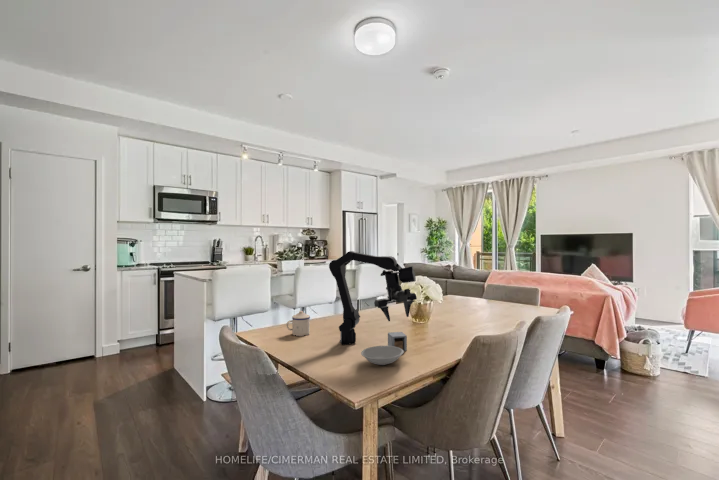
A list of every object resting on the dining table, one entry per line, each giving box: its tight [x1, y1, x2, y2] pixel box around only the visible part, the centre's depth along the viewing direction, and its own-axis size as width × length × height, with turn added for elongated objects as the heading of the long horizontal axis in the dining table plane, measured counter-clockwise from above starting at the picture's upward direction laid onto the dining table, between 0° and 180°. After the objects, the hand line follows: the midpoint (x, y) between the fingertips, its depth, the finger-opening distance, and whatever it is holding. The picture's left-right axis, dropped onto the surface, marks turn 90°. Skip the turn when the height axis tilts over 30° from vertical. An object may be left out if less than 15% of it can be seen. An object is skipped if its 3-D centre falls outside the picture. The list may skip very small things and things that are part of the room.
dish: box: [360, 345, 405, 366], centre depth 134 cm, size 18×14×5 cm
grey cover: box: [387, 331, 408, 352], centre depth 153 cm, size 7×7×6 cm
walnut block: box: [394, 339, 403, 349], centre depth 153 cm, size 4×4×4 cm
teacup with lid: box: [285, 310, 311, 337], centre depth 176 cm, size 12×9×12 cm
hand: (398, 319), depth 155 cm, fingers open, 9 cm apart
